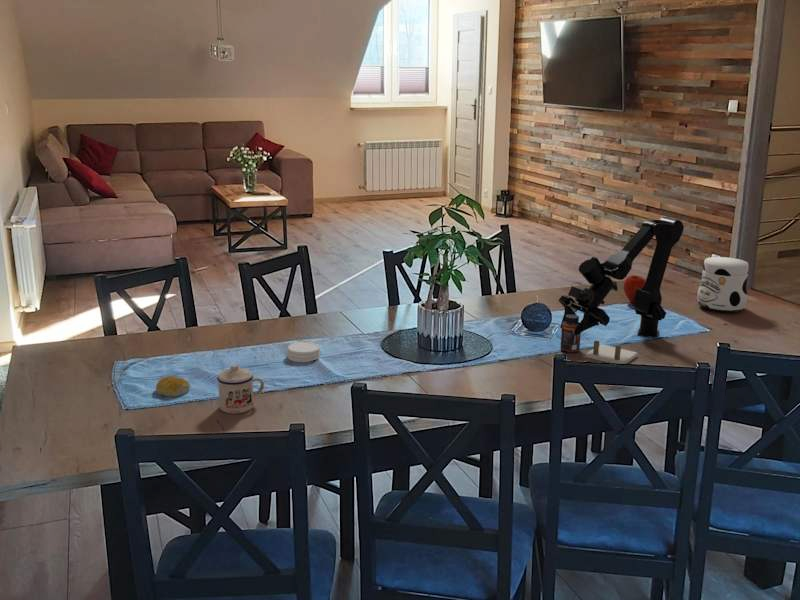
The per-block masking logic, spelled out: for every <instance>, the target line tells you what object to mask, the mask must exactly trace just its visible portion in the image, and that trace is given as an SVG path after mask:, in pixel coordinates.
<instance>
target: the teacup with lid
mask: <svg viewBox="0 0 800 600" xmlns="http://www.w3.org/2000/svg"><path fill="white" fill-rule="evenodd" d="M216 379H217V381H218V394H219V395H218V396H219V397H218V399H219V400H218V401H219V408H220V411H222V412H223V413H226V414H232V415H234V414H244V413H246V412H249V411H251V410H252V409H253V407H254V397H257V396H260V395H261V393H262V392H263V391H264V389H265V388H264V387H265V382H264V380H263V379H262V378H260V377H254V375H253V373H252V371H251V370H249V369H246V368H241V367H240V366H239V365H238V364H232V365H231V366H230V368H228V369H225V370H223V371H221V372H220V373H219V374H218V375H217V378H216ZM254 382H260V387H259V389H258V390H257V391H256V392H254V388H253V386H254V385H253V383H254Z"/></svg>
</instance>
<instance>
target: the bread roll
mask: <svg viewBox="0 0 800 600" xmlns="http://www.w3.org/2000/svg"><path fill="white" fill-rule="evenodd" d="M190 388H191V384H190V383H189V381H187V380H186V379H184V378H182V377H176V376H174V375H169V376H168V375H167V376H165V377H162V378H161V379H159V380H158V381H157V383H156V386H155V390H156V393H157V394H158V395H160V396H164V397H167V398H174V397H179V396H183V395H185V394H187V393H188V392H190Z"/></svg>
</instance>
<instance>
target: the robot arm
mask: <svg viewBox="0 0 800 600" xmlns="http://www.w3.org/2000/svg"><path fill="white" fill-rule="evenodd" d="M684 227H685V226H684V224H683V222H682V220H679V219H676V218H670V217H667V216H666V217H665V216H663V217H660V218H659V219H651V220H645V221H643V223H642V224H641V227H640V228H639V229H638V230H637V232H635V234H634V235H633V236H632V237H631V238H630V239H629V240H628V242H626V244H625V245H624V247H623V248H621V250H620V251H619V252H616V253H614V254H612V255H610V257H608V258H607V259H606V260H605V261H604V262H600V260H599V259H598V257H595V256H591V258H590V259H589V258H588V259H587V260H584V261H583V262H581V263H580V265H579V267H578V271H579V273H580V274H581V275H582V277H583V278H584V279H585V281H586V282H587V283H588V284H590V287H589V288H588V287H585V288H584V289H581V288H578V287H577V286H571V287H570V289H569V292H568V294H567V295H564V294H563V295H561V296H560V297H559V298H558V303H560V304H561V305H562V307H563V308H564V313H563V317H562V319H561V322H560V323H561V324H560V326H559V327H560V328H561V330H562V323H563V322H564V321H566V315H569V314H573V315H577V312H581V313H583V315H582V316H583V317H582V319H581V320H580V322H579V325H578V326H577V328H576V329H575V331H574V334H575V335H577V334H579V333H581V334H582V332H584V331H587V330H589V329H591V328H593V327H595V326H600V325H602V326H605V327H607V325H608V324H609V323H610V319H611V317H610V316H609V315H608V313H606V311H605V310H604V309H602V308H600V307H599V306H600V305H603V306H604V305H605V299H606V297H607V296H608V294H609V293H610V292H611V291H612V290H613V291H615V292H617V291H618V282H617V281H614V280H612V279H615V280H618V281H621V280H622V281H623V280H624V279H626V278H627V277H628V276H627V275H629V272H630V271H631V270H632V267H633V262H634V260H635V259H636V258H637V257H638V256H639V254H640V253H642V251H643V250H644V249H645V247H646V246H647V245H648V244H649V243H650V242H651V240H652V239H653V238H654V237H655V242H656V245H655V249H654V252H653V255H652V259H651V262H650V265H649V269H648V272H647V276H646V279H645V281H646V282H645V285H644V286H643V287H642V288H641V289H637V290H636V293H635V297H634V299H633V301H634V303H632V304H633V307H634V310H635V311H634V312H635V315H639V316H640V322H639V323H640V325H639V328H638V331H637V336H640V335H643V336H642V337H649V336H650V338H659V333H660V331H659V329H658V328H659V321H662V320H665V318H666V315H667V312H666V311H665V309H664V307H662V300H663V298H662V294H661V286H662V282H663V279H664V277H665V273H666V269H667V265H668V262H669V260H670V256H671V253H672V249H673V247H674V246H675V245H676V244H677V243H678V242H679V241H680V239H681V237H682V235H683V233H684Z"/></svg>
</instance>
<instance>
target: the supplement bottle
mask: <svg viewBox="0 0 800 600" xmlns="http://www.w3.org/2000/svg"><path fill="white" fill-rule="evenodd" d="M579 320H580V316H579V315H577V314H576V315H573V314H569V315H566V321H564V322H563V323H562V322H561V323H562V329H561V333H560V334H561V335H560V350H561V349H562V350H563V352H564V351H566V352H565V353H570V352H572V353H578V352H579V351H580V347H581V336H582V335H581V334H582V332H581V333H579V334H577V335H575V334H574V331H575V329H576V328H577V326H578V325H579V323H580V322H579ZM562 350H561V351H562Z"/></svg>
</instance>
